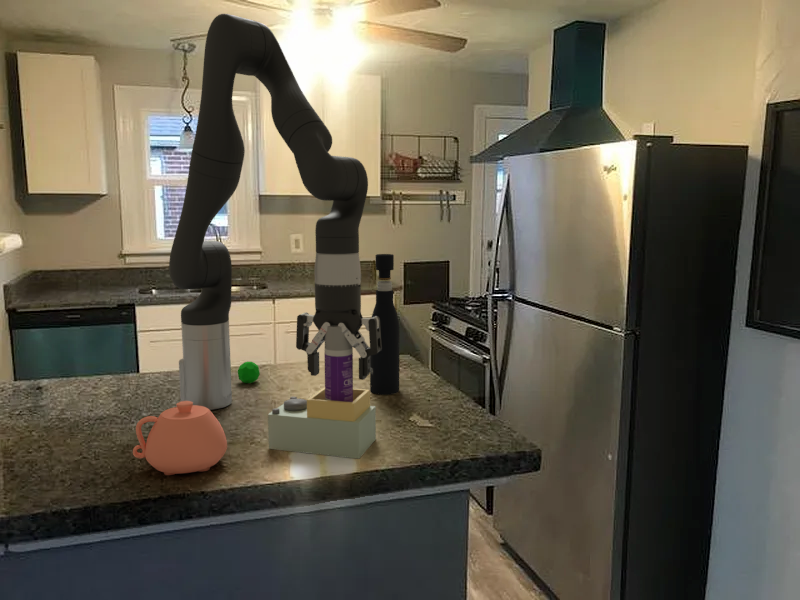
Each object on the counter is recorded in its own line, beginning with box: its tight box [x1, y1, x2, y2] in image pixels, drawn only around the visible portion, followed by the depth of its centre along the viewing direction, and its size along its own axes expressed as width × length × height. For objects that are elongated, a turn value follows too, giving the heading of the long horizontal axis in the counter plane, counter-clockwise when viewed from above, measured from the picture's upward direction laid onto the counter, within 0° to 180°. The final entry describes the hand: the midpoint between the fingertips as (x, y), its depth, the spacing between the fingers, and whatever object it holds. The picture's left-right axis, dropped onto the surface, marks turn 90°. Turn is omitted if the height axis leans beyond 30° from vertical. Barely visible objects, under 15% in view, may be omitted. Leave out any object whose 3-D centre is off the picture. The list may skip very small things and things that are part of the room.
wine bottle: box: [369, 253, 400, 396], centre depth 141 cm, size 6×6×30 cm
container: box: [324, 325, 354, 402], centre depth 109 cm, size 5×5×15 cm
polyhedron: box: [237, 361, 261, 384], centre depth 149 cm, size 5×5×5 cm
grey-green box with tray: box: [267, 386, 377, 459], centre depth 111 cm, size 16×9×9 cm, turn 75°
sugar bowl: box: [132, 400, 228, 476], centre depth 101 cm, size 12×14×10 cm
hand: (338, 376), depth 109 cm, fingers open, 8 cm apart
